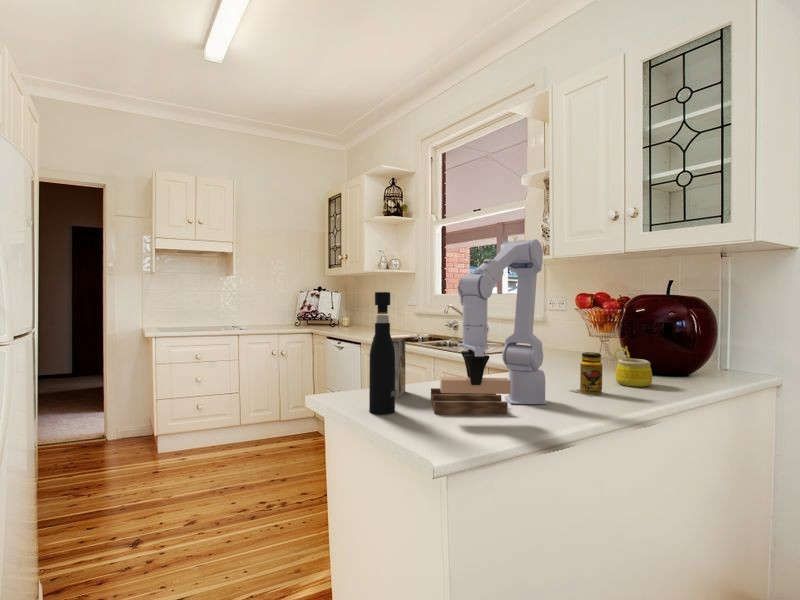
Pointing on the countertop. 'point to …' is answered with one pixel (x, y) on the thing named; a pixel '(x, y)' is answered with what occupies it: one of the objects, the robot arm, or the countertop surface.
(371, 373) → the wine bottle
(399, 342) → the coffee box
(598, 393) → the condiment
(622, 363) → the yellow round container
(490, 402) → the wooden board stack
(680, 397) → the countertop surface
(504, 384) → the clay strip
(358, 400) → the countertop surface
